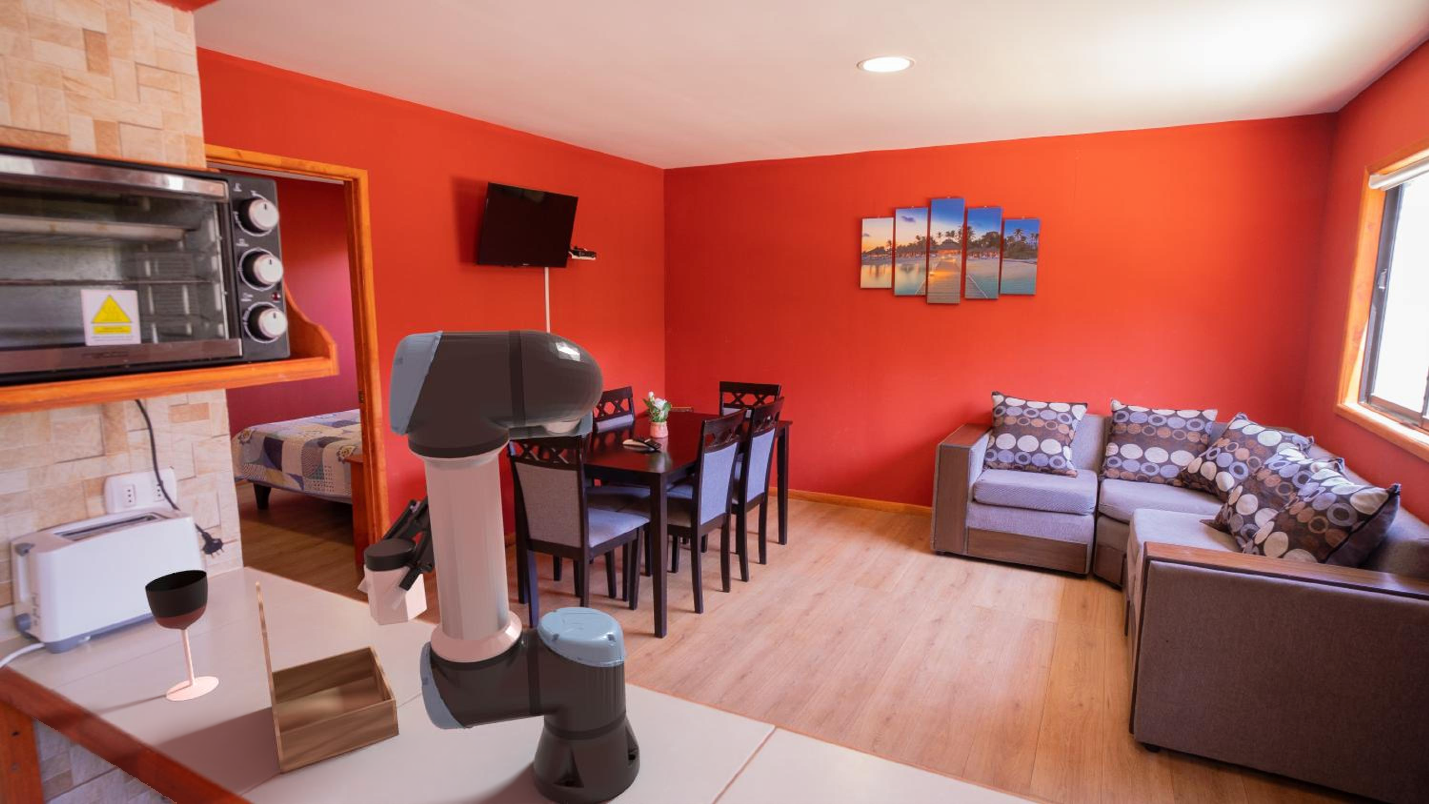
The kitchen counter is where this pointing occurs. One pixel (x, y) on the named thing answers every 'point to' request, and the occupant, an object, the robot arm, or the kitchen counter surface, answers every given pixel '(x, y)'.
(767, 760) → the kitchen counter surface
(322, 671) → the open wooden box
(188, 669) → the wineglass
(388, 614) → the jar
